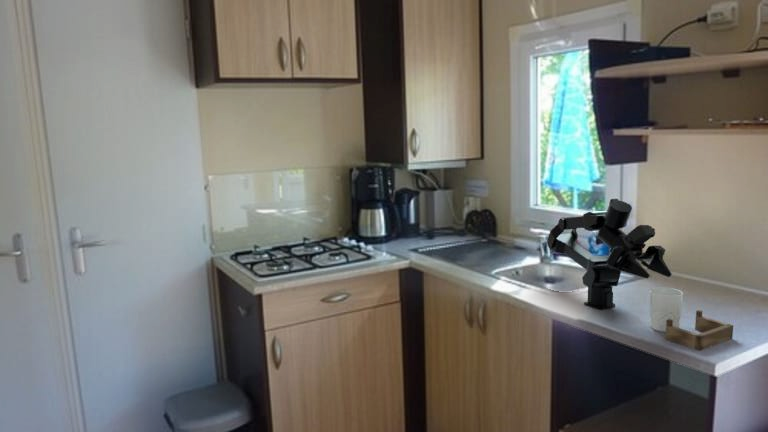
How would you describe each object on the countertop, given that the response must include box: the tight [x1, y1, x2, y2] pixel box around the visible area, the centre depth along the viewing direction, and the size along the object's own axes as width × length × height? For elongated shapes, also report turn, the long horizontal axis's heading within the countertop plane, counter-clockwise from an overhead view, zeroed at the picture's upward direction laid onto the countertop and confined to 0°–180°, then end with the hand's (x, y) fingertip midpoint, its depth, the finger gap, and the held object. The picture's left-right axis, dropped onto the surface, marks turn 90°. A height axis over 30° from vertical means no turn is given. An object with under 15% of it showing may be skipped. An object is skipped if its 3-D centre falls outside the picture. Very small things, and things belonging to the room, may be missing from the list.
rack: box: [664, 309, 734, 352], centre depth 147 cm, size 9×13×5 cm
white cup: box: [649, 286, 684, 333], centre depth 155 cm, size 8×8×10 cm
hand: (659, 276), depth 153 cm, fingers open, 9 cm apart
